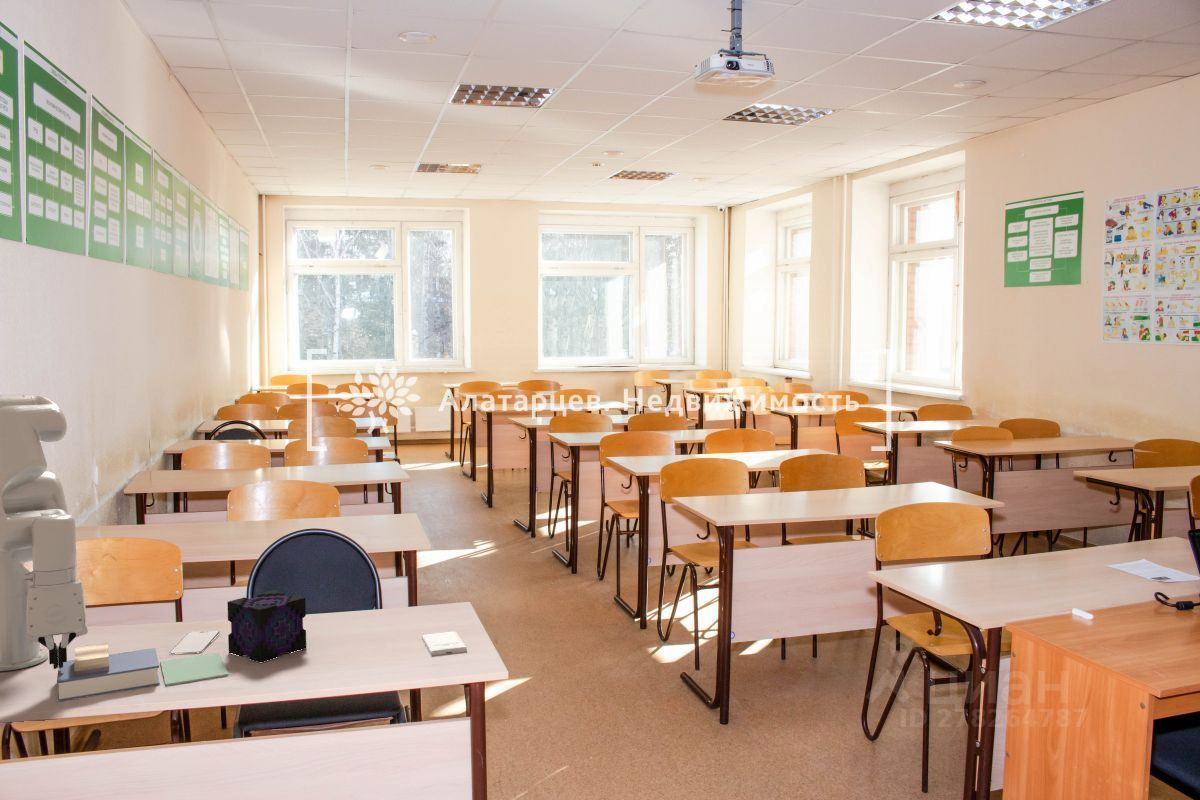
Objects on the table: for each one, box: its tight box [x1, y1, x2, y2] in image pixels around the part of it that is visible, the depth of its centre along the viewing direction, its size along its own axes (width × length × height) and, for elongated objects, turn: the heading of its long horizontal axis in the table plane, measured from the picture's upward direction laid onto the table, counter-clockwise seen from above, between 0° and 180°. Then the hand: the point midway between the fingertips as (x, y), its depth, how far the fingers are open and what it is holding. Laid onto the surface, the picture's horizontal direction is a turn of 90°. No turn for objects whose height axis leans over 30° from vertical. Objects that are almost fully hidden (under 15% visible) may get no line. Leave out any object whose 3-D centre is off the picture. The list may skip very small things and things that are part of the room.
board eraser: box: [73, 642, 110, 676], centre depth 184 cm, size 10×6×3 cm, turn 30°
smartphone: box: [169, 630, 220, 654], centre depth 211 cm, size 7×1×15 cm
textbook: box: [56, 647, 161, 702], centre depth 185 cm, size 13×18×4 cm
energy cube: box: [227, 589, 307, 663], centre depth 205 cm, size 12×12×12 cm
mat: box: [160, 652, 229, 687], centre depth 193 cm, size 16×12×1 cm
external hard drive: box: [421, 631, 467, 656], centre depth 209 cm, size 2×8×12 cm
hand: (58, 666), depth 181 cm, fingers closed
